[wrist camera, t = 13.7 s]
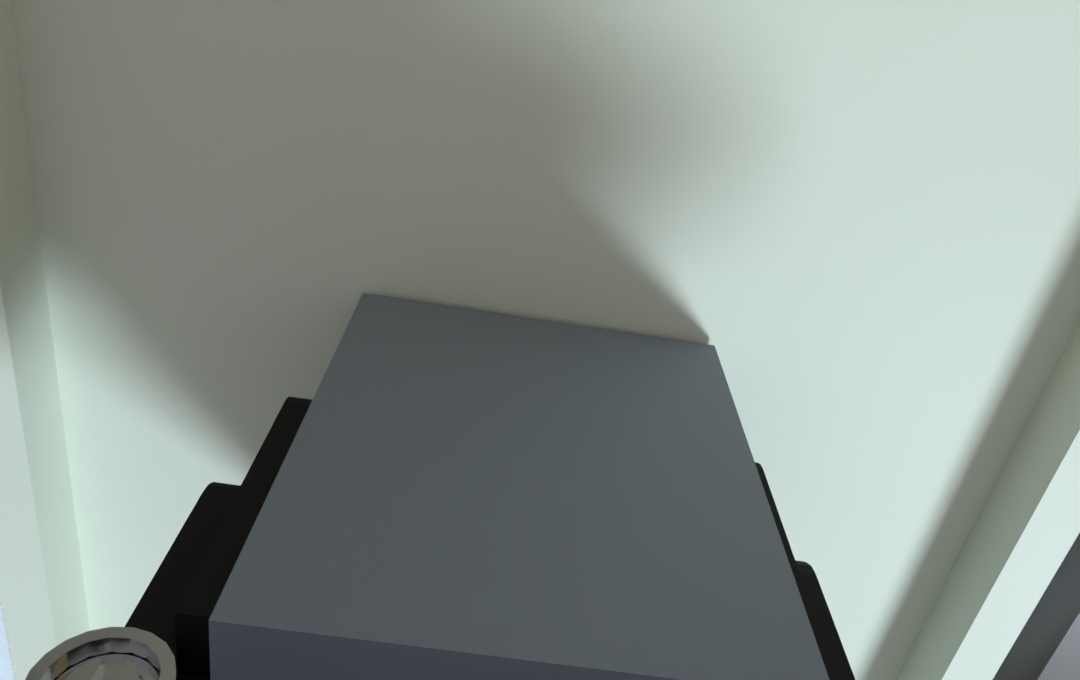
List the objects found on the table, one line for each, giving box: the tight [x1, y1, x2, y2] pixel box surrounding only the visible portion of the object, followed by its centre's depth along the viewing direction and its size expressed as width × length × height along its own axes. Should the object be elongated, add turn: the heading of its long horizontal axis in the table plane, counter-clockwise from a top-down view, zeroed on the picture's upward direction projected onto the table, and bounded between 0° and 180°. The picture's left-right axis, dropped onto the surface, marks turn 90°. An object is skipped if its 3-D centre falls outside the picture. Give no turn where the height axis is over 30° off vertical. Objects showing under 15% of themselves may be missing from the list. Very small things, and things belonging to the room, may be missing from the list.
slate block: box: [209, 293, 829, 680], centre depth 11 cm, size 5×5×6 cm
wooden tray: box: [0, 0, 1080, 680], centre depth 10 cm, size 20×16×6 cm
